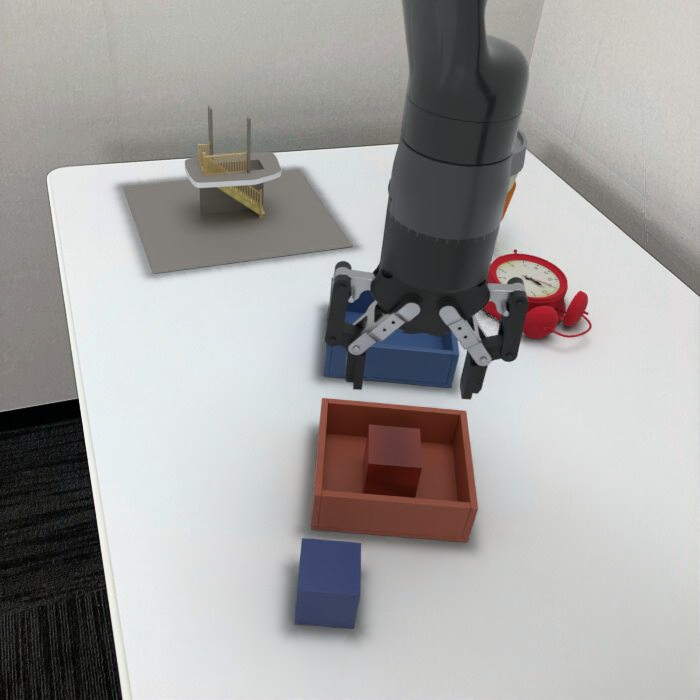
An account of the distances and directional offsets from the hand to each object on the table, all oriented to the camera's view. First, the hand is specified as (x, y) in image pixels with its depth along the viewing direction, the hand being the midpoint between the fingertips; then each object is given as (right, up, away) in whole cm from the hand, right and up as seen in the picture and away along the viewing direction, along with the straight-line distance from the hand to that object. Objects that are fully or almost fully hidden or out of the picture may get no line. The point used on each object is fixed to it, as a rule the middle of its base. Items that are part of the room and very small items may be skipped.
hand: (411, 387), depth 61 cm
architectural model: (-20, +20, +40) cm, 49 cm away
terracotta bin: (-1, -9, +8) cm, 12 cm away
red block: (-1, -9, +8) cm, 12 cm away
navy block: (-7, -16, -2) cm, 18 cm away
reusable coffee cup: (+9, +17, +40) cm, 45 cm away
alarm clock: (+16, +7, +30) cm, 35 cm away
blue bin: (-1, +3, +22) cm, 23 cm away
